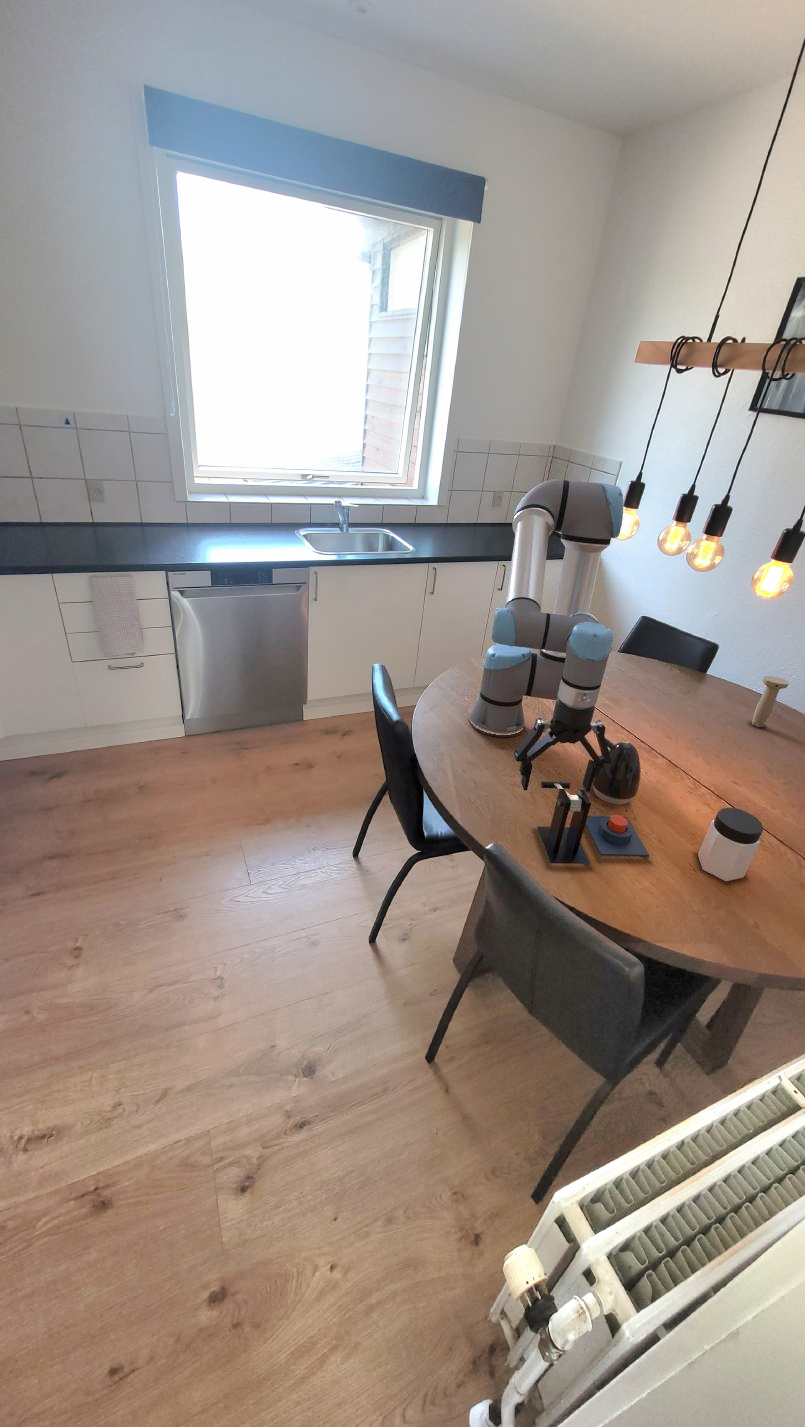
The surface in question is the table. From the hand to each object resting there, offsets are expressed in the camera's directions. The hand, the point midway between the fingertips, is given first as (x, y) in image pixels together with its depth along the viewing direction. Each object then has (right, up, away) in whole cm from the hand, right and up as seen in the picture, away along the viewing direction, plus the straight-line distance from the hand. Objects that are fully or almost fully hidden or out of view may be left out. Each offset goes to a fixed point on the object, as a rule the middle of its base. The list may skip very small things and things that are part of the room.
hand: (555, 787), depth 126 cm
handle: (+73, +12, +49) cm, 89 cm away
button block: (+12, -11, -2) cm, 16 cm away
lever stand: (0, -12, -5) cm, 13 cm away
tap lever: (0, -2, -6) cm, 6 cm away
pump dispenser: (+16, -4, +12) cm, 20 cm away
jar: (+32, -15, -6) cm, 36 cm away
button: (+12, -8, -4) cm, 15 cm away
